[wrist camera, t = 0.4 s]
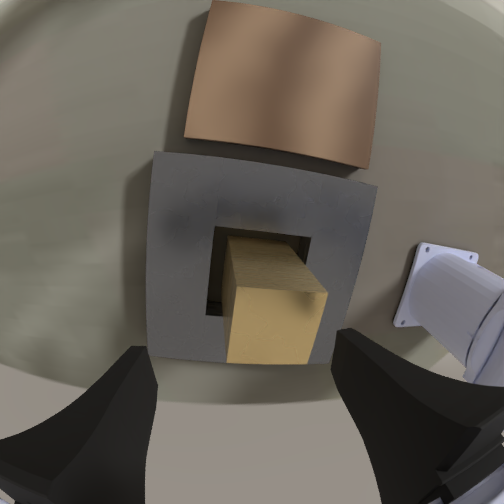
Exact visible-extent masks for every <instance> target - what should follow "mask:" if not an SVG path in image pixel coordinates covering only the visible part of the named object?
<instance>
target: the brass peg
mask: <svg viewBox="0 0 504 504" xmlns="http://www.w3.org/2000/svg"><path fill="white" fill-rule="evenodd" d="M221 295H222V310H223V324H224V338H225V350H226V362H227V363H242V364H307V363H308V360H309V357H310V353H311V350H312V347H313V344H314V341H315V338H316V334H317V331H318V328H319V324H320V321H321V317H322V314H323V310H324V307H325V303H326V300H327V296H328V292H327V291H326V290H325V288H324V287H323V286H322V285H321V284H320V282H319V281H318V280H317V279H316V277H315V276H314V275H313V274H312V273H311V271H310V270H309V269H308V268H307V266H306V265H305V264H304V263H303V262H302V260H301V259H300V258H299V257H298V256H297V254H296V253H295V252H294V251H293V250H292V248H291V247H290V246H289V245H288V244H287V242H283V241H275V240H266V239H257V238H248V237H239V236H230V235H228V238H227V246H226V254H225V262H224V270H223V278H222V287H221Z"/></svg>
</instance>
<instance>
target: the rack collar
mask: <svg viewBox="0 0 504 504" xmlns="http://www.w3.org/2000/svg"><path fill="white" fill-rule="evenodd" d="M377 188H378V186H374V185H370V184H366V183H362V182H357V181H353V180H349V179H344V178H340V177H335V176H331V175H326V174H321V173H316V172H311V171H306V170H300V169H295V168H289V167H284V166H278V165H272V164H265V163H259V162H252V161H245V160H238V159H230V158H222V157H214V156H205V155H195V154H185V153H173V152H160V151H154V158H153V166H152V176H151V186H150V197H149V210H148V226H147V247H146V324H147V345H148V354H149V355H150V356H157V357H165V358H174V359H184V360H194V361H207V362H221V363H227V362H226V350H225V338H224V324H223V310H222V303H221V302H210V301H207V292H208V282H209V272H210V262H211V253H212V244H213V235H214V227H215V226H220V227H229V228H238V229H246V230H255V231H264V232H272V233H280V234H289V235H297V236H301V240H300V245H299V250H298V255H297V256H298V257H299V258H300V259H301V260H302V262H303V263H304V264H305V265H306V266H307V268H308V269H309V270H310V271H311V273H312V274H313V275H314V276H315V277H316V279H317V280H318V281H319V282H320V284H321V285H322V286H323V287H324V288H325V290H326V291H327V292H328V296H327V300H326V303H325V307H324V310H323V314H322V317H321V321H320V324H319V328H318V331H317V334H316V338H315V341H314V344H313V347H312V350H311V353H310V357H309V360H308V363H307V364H326V363H329V362H330V359H331V356H332V353H333V351H334V346H335V340H336V333H337V330H341V328H342V324H343V321H344V318H345V315H346V312H347V309H348V306H349V302H350V299H351V296H352V292H353V289H354V285H355V282H356V278H357V275H358V271H359V267H360V264H361V260H362V256H363V252H364V248H365V244H366V240H367V236H368V231H369V227H370V222H371V218H372V213H373V208H374V203H375V198H376V193H377ZM240 364H242V363H240Z"/></svg>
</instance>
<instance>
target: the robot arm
mask: <svg viewBox="0 0 504 504" xmlns="http://www.w3.org/2000/svg"><path fill="white" fill-rule="evenodd" d="M426 248H427V250H426ZM425 250H426V251H425ZM477 260H478V254H477V253H475V252H470V251H465V250H460V249H455V248H450V247H445V246H440V245H434V244H429V243H424V242H421V243H420V244H419V245H418V247H417V250H416V254H415V258H414V261H413V265H412V268H411V271H410V275H409V278H408V281H407V284H406V287H405V290H404V293H403V296H402V299H401V302H400V305H399V307H398V310H397V313H396V316H395V318H394V321H393V324H394V325H395V326H396V327H410V326H422V327H424V328H425V329H426V330H427V331H428V332H429V333H430V334H431V335H432V336H433V337H434V338H435V339H436V340H438V341H439V342H440V343H441V344H442V345H443V346H444V347H445V348H446V349H447V350H448V351H449V352H450V353H451V354H452V355H453V356H454V357H455V358H456V359H457V360H458V361H460V363H461V364H462V365H464V366H465V368H466V370H465V372H464V374H463V378H464V379H465V380H466V381H467V382H463V381H459V380H455V379H452V378H448V377H445V376H442V375H439V374H436V373H433V372H431V371H428V370H426V369H424V368H421V367H419V366H417V365H415V364H413V363H411V362H409V361H407V360H405V359H403V358H401V357H399V356H397V355H395V354H394V353H392V352H390V351H388V350H387V349H385V348H383V347H382V346H380V345H379V344H377V343H375V342H374V341H372V340H370V339H369V338H367V337H366V336H364V335H362V334H361V333H359V332H357V331H356V330H354V329H352V328H348V329H342V330H337V333H336V340H335V346H334V353H333V359H332V365H331V372H332V375H333V378H334V381H335V384H336V387H337V389H338V391H339V393H340V395H341V397H342V399H343V401H344V403H345V405H346V407H347V409H348V411H349V413H350V415H351V416H352V418H353V420H354V422H355V424H356V426H357V428H358V430H359V432H360V434H361V436H362V438H363V441H364V444H365V446H366V449H367V452H368V455H369V458H370V461H371V464H372V467H373V470H374V474H375V477H376V481H377V485H378V489H379V492H380V497H381V502H382V504H504V447H503V445H502V443H503V442H504V437H503V436H502V435H501V433H502V432H504V279H503V278H502V277H500V276H498V275H496V274H494V273H493V272H491V271H489V270H487V269H485V268H483V267H482V266H480V265H478V264H477ZM157 390H158V384H157V381H156V378H155V374H154V371H153V368H152V365H151V361H150V358H149V354H148V351H147V347H146V346H131V347H130V348H129V349H128V350H127V351H126V352H125V353H124V354H123V355H122V356H121V357H120V358H119V359H118V360H117V361H116V362H115V363H114V364H113V365H112V366H111V368H110V369H109V370H108V371H107V372H106V373H105V374H104V375H103V376H102V377H101V378H100V379H99V380H98V381H96V382H95V383H94V384H93V385H92V386H91V387H90V388H89V389H88V390H87V391H86V392H85V393H84V394H82V395H81V396H80V397H79V398H78V399H76V400H75V401H74V402H72V403H71V404H70V405H69V406H67V407H66V408H64V409H63V410H61V411H60V412H58V413H57V414H55V415H54V416H52V417H50V418H49V419H47V420H45V421H44V422H42V423H40V424H38V425H36V426H34V427H32V428H30V429H28V430H26V431H24V432H21V433H19V434H16V435H13V436H11V437H7V438H5V439H1V440H0V489H1V490H3V491H4V492H5V493H6V494H8V495H9V496H10V497H11V498H13V499H14V500H15V503H14V504H145V466H146V456H147V450H148V445H149V440H150V435H151V430H152V425H153V420H154V415H155V410H156V403H157ZM0 504H9V503H8V502H6V501H5V500H3V499H1V498H0Z"/></svg>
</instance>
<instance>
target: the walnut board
mask: <svg viewBox="0 0 504 504" xmlns="http://www.w3.org/2000/svg"><path fill="white" fill-rule="evenodd" d="M380 55H381V43H380V42H378V41H375V40H373V39H371V38H368V37H366V36H363V35H361V34H358V33H356V32H353V31H350V30H348V29H345V28H342V27H339V26H336V25H333V24H330V23H327V22H324V21H320V20H317V19H314V18H310V17H306V16H303V15H299V14H295V13H291V12H286V11H282V10H277V9H272V8H267V7H262V6H256V5H250V4H243V3H236V2H227V1H217V0H212V4H211V7H210V11H209V15H208V19H207V23H206V26H205V31H204V35H203V39H202V43H201V47H200V52H199V56H198V61H197V66H196V70H195V75H194V80H193V86H192V91H191V96H190V102H189V108H188V113H187V120H186V126H185V132H184V138H186V139H196V140H206V141H215V142H223V143H231V144H239V145H246V146H252V147H259V148H265V149H271V150H277V151H283V152H288V153H293V154H298V155H304V156H308V157H313V158H318V159H323V160H327V161H331V162H336V163H340V164H344V165H348V166H352V167H356V168H361V169H368V168H369V161H370V155H371V148H372V141H373V134H374V126H375V117H376V108H377V98H378V87H379V73H380Z"/></svg>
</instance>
